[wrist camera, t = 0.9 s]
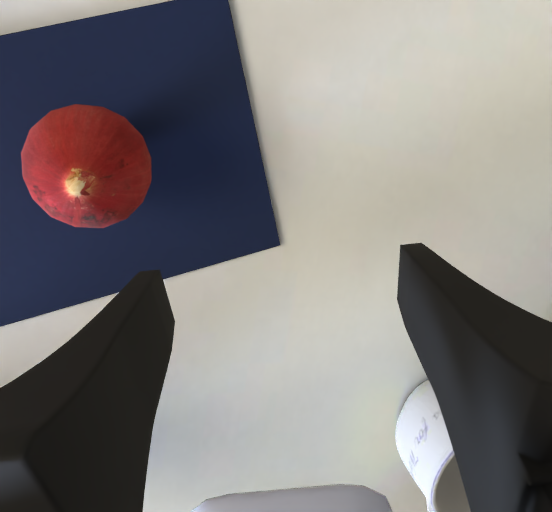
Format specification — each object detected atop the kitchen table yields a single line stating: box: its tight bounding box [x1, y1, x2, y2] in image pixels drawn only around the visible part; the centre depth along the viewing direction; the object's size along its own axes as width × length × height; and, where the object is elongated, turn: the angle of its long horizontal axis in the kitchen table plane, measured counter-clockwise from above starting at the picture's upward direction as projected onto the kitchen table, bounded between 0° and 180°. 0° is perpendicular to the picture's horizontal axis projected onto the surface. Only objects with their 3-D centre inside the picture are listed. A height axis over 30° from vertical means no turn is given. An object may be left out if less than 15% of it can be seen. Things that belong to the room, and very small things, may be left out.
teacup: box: [396, 379, 471, 512], centre depth 37 cm, size 14×11×8 cm
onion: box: [21, 104, 151, 228], centre depth 22 cm, size 6×6×8 cm
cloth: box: [0, 0, 280, 326], centre depth 26 cm, size 20×15×1 cm
